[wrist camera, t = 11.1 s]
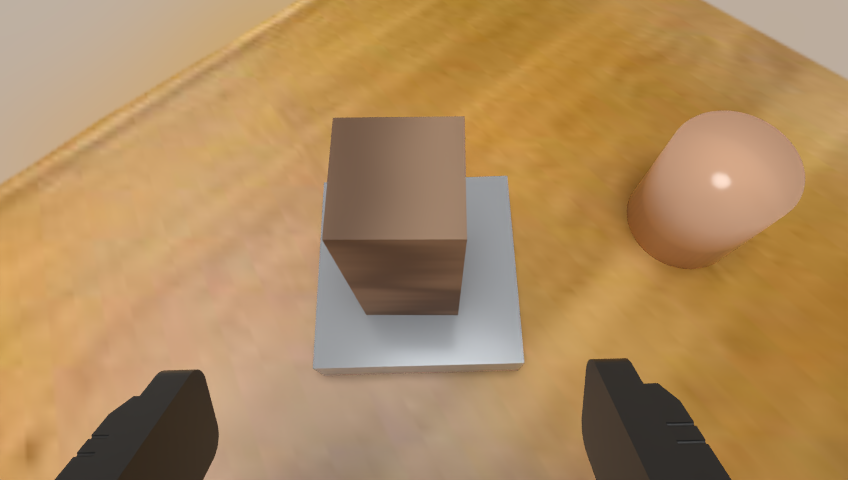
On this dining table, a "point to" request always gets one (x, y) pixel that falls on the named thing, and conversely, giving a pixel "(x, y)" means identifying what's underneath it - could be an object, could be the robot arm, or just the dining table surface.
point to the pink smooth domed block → (714, 189)
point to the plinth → (432, 334)
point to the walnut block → (398, 212)
